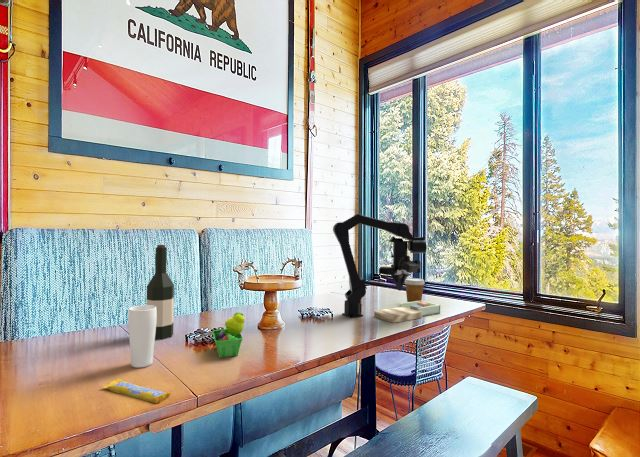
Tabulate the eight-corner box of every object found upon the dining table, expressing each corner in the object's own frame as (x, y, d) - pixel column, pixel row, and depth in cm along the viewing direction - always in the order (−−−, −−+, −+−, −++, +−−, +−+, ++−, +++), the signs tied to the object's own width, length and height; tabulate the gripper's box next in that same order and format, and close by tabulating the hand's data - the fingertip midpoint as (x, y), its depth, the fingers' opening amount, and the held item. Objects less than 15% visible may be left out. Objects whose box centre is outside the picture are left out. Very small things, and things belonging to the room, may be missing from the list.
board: (392, 322, 144) (392, 316, 144) (374, 316, 153) (374, 310, 153) (421, 317, 152) (421, 312, 152) (402, 312, 161) (402, 306, 161)
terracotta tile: (424, 304, 158) (428, 303, 160) (417, 302, 162) (421, 301, 163) (423, 313, 158) (428, 312, 160) (416, 311, 162) (421, 310, 163)
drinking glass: (148, 358, 102) (149, 303, 102) (160, 364, 98) (161, 307, 98) (122, 365, 97) (123, 307, 97) (134, 371, 93) (135, 312, 93)
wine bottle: (163, 341, 117) (164, 246, 117) (140, 338, 119) (141, 245, 118) (178, 333, 125) (179, 244, 125) (156, 331, 127) (157, 243, 127)
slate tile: (416, 314, 156) (417, 307, 156) (409, 312, 160) (410, 305, 160) (423, 313, 158) (423, 306, 158) (416, 311, 162) (416, 304, 162)
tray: (418, 316, 154) (419, 308, 154) (400, 311, 163) (400, 303, 163) (440, 313, 161) (440, 305, 161) (420, 308, 170) (421, 300, 170)
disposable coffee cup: (426, 303, 180) (427, 279, 180) (420, 307, 172) (421, 281, 172) (407, 301, 185) (408, 277, 185) (401, 304, 177) (401, 279, 177)
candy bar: (173, 398, 80) (173, 390, 80) (158, 407, 76) (158, 398, 76) (118, 384, 87) (118, 376, 87) (102, 391, 83) (102, 383, 83)
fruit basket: (211, 346, 113) (212, 309, 112) (241, 344, 116) (241, 307, 116) (215, 359, 102) (215, 318, 102) (247, 356, 105) (248, 316, 105)
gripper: (397, 255, 143) (396, 295, 143) (430, 253, 153) (430, 291, 153) (378, 253, 152) (377, 291, 153) (411, 251, 162) (410, 287, 162)
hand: (399, 290), depth 155 cm, fingers closed
